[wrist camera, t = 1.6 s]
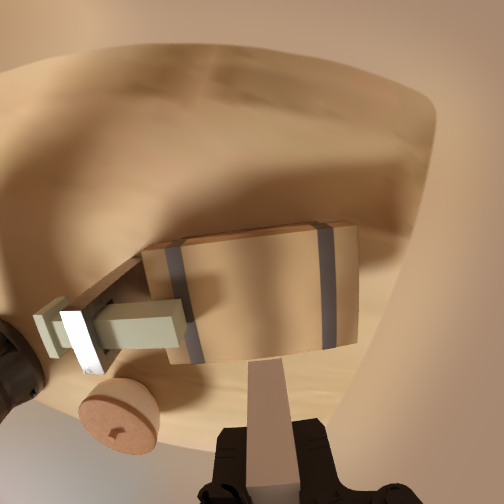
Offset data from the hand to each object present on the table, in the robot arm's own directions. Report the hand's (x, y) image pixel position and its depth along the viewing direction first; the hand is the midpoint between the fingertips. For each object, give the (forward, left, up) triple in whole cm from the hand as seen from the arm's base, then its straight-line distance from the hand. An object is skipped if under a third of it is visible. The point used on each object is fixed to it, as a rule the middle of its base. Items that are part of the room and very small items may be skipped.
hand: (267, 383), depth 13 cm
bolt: (-12, 0, -9) cm, 15 cm away
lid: (0, 0, -12) cm, 12 cm away
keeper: (-13, 0, -19) cm, 23 cm away
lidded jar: (-20, -17, -19) cm, 32 cm away
